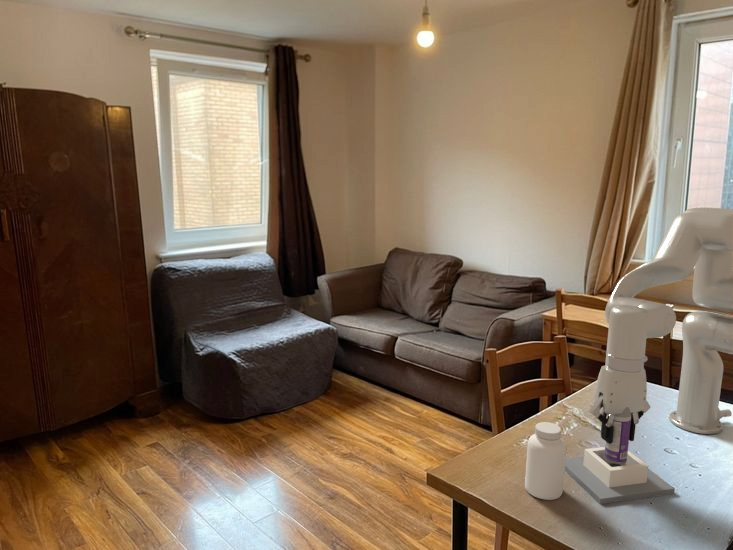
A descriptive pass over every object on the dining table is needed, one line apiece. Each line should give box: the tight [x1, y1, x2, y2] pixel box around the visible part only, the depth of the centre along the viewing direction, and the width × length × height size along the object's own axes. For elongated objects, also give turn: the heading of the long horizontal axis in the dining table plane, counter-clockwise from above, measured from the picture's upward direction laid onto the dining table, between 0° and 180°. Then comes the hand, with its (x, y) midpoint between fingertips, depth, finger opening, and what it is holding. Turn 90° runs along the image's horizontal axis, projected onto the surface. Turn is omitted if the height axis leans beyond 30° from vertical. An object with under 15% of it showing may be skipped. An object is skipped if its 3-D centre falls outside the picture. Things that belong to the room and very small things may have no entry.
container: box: [604, 407, 631, 464], centre depth 122 cm, size 5×5×15 cm
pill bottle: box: [524, 421, 567, 501], centre depth 118 cm, size 8×8×15 cm
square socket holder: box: [564, 446, 676, 505], centre depth 124 cm, size 18×16×5 cm
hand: (617, 438), depth 122 cm, fingers closed on container, 4 cm apart
